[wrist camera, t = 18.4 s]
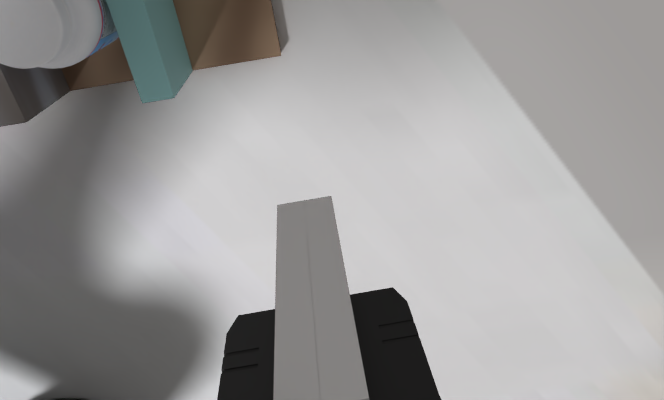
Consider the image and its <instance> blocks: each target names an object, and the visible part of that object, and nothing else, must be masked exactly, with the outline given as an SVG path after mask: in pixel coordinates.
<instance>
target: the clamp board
mask: <svg viewBox="0 0 664 400" xmlns="http://www.w3.org/2000/svg"><path fill="white" fill-rule="evenodd" d="M173 3H174V7H175V10H176V14H177V17H178V21H179V24H180V28H181V31H182V35H183V38H184V42H185V45H186V49H187V52H188V56H189V59H190V62H191V66H192V69H193V70H198V69H204V68H210V67H216V66H222V65H228V64H234V63H240V62H246V61H252V60H258V59H264V58H270V57H276V56H281V50H280V45H279V40H278V34H277V29H276V24H275V19H274V13H273V8H272V3H271V0H173ZM132 80H134V78H133V76H132V73H131V70H130V67H129V64H128V61H127V58H126V56H125V53H124V50H123V47H122V44H121V41H120V39H119V38H118V39H117V40H115V41H114V42H112V43H110V44H109V45H107V46H105V47H104V48H102V49H100V50H99V51H97V52H95V53H94V54H92V55H90V56H89V57H87V58H85V59H84V60H82V61H80V62H79V63H76V64H74V65H72V66H68V67H64V68H56V69H50V68H41V67H35V68H27V69H21V68H14V67H9V66H6V65H3V64H1V63H0V127H1V126H7V125H13V124H19V123H25V122H27V121H29V120H30V119H32V118H33V117H34V116H36V115H37V114H39V113H40V112H41V111H43V110H44V109H46V108H47V107H48V106H50V105H51V104H53V103H54V102H55V101H57V100H58V99H60V98H61V97H62V96H64V95H65V94H67V93H68V92H69V91H72V90H78V89H84V88H90V87H96V86H102V85H108V84H114V83H120V82H126V81H132Z"/></svg>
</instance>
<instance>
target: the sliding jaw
mask: <svg viewBox="0 0 664 400" xmlns="http://www.w3.org/2000/svg"><path fill="white" fill-rule="evenodd" d="M106 2H107V4H108V7H109V10H110V13H111V16H112V19H113V22H114V24H115V27H116V30H117V33H118V36H119V39H120V41H121V44H122V47H123V50H124V53H125V56H126V58H127V61H128V64H129V67H130V70H131V73H132V76H133V78H134V81H135V84H136V87H137V90H138V93H139V95H140V98H141V101H142V103H147V102H153V101H159V100H165V99H171V98H174V97H175V96H176V95H177V93H178V92H179V90H180V89H181V87H182V86H183V84H184V83H185V81H186V80H187V78H188V77H189V75H190V74H191V73H192V71H193V69H192V66H191V62H190V59H189V56H188V52H187V49H186V45H185V42H184V38H183V35H182V31H181V28H180V24H179V21H178V17H177V14H176V10H175V7H174V3H173V0H106Z"/></svg>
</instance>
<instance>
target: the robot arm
mask: <svg viewBox="0 0 664 400" xmlns="http://www.w3.org/2000/svg"><path fill="white" fill-rule="evenodd" d="M60 400H78V399H60ZM217 400H441V398H440V396H439V393H438V390H437V387H436V385H435V382H434V379H433V376H432V373H431V370H430V367H429V364H428V361H427V358H426V355H425V352H424V349H423V347H422V344H421V341H420V338H419V336H418V332H417V329H416V326H415V323H414V321H413V317H412V314H411V312H410V309H409V306H408V303H407V301H406V300H405V299H404V298H403V297H402V296H401V295H400V294H399V293H398V292H397V291H396V290H395V289H394V288H387V289H381V290H375V291H369V292H363V293H358V294H352V295H350V294H349V288H348V283H347V278H346V272H345V267H344V262H343V256H342V251H341V246H340V240H339V235H338V230H337V224H336V219H335V214H334V208H333V203H332V198H331V196H328V197H322V198H316V199H310V200H304V201H298V202H293V203H287V204H281V205H277V249H276V297H275V309H273V310H267V311H261V312H256V313H250V314H244V315H238V317H237V318H236V320H235V322H234V323H233V325H232V326H231V328H230V330H229V331H228V333H227V336H226V343H225V350H224V357H223V364H222V374H221V378H220V385H219V392H218V399H217Z"/></svg>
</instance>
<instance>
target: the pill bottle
mask: <svg viewBox="0 0 664 400" xmlns="http://www.w3.org/2000/svg"><path fill="white" fill-rule="evenodd" d="M118 38H119V36H118V33H117V30H116V27H115V24H114V22H113V19H112V16H111V13H110V10H109V7H108V4H107V2H106V0H0V63H1V64H3V65H6V66H9V67H14V68H21V69H27V68H35V67H41V68H50V69H56V68H64V67H68V66H72V65H74V64H76V63H79V62H80V61H82V60H84V59H85V58H87V57H89V56H90V55H92V54H94V53H95V52H97V51H99V50H100V49H102V48H104V47H105V46H107V45H109V44H110V43H112V42H114V41H115V40H117V39H118Z"/></svg>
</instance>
